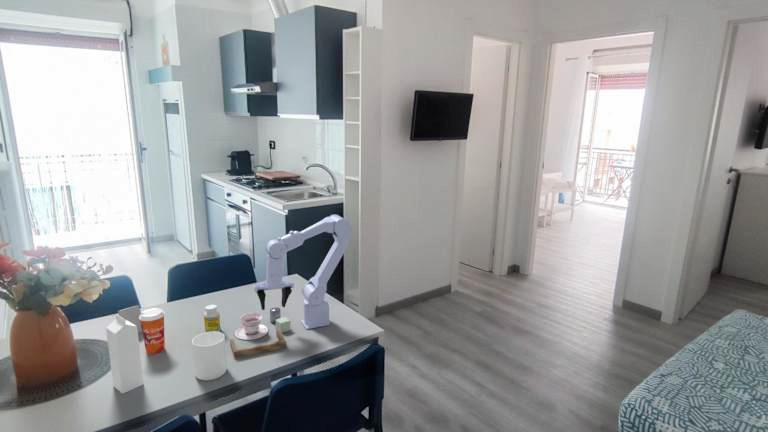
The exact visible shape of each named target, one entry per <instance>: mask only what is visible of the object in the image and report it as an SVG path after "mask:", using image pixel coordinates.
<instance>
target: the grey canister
mask: <svg viewBox="0 0 768 432" xmlns="http://www.w3.org/2000/svg"><path fill="white" fill-rule="evenodd" d="M269 316H270V317H269V319H270V320H269V321H270V324H275V325H276V323H275V320H276V319H279V318H282V317H281V316H282V315H281V307H272V308H270V309H269Z"/></svg>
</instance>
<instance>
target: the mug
mask: <svg viewBox="0 0 768 432" xmlns="http://www.w3.org/2000/svg"><path fill="white" fill-rule="evenodd" d="M226 347H227V346H226V335H225V334H224V333H223V332H220V331H218V332H216V331H211V332H206V331H205V332H202V333H199V334H197V335H196V336H194V337H193V338H192V339H191V348H192V360H193V371H194V372H193V373H194V375H195V378H197V379H198V380H201V381H205V382H206V381H213V380H216V379H218V378H220V377H222V376H223V375H225V373H227V372H226V371H227V366H228V365H227V363H228V362H227V350H226Z"/></svg>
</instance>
